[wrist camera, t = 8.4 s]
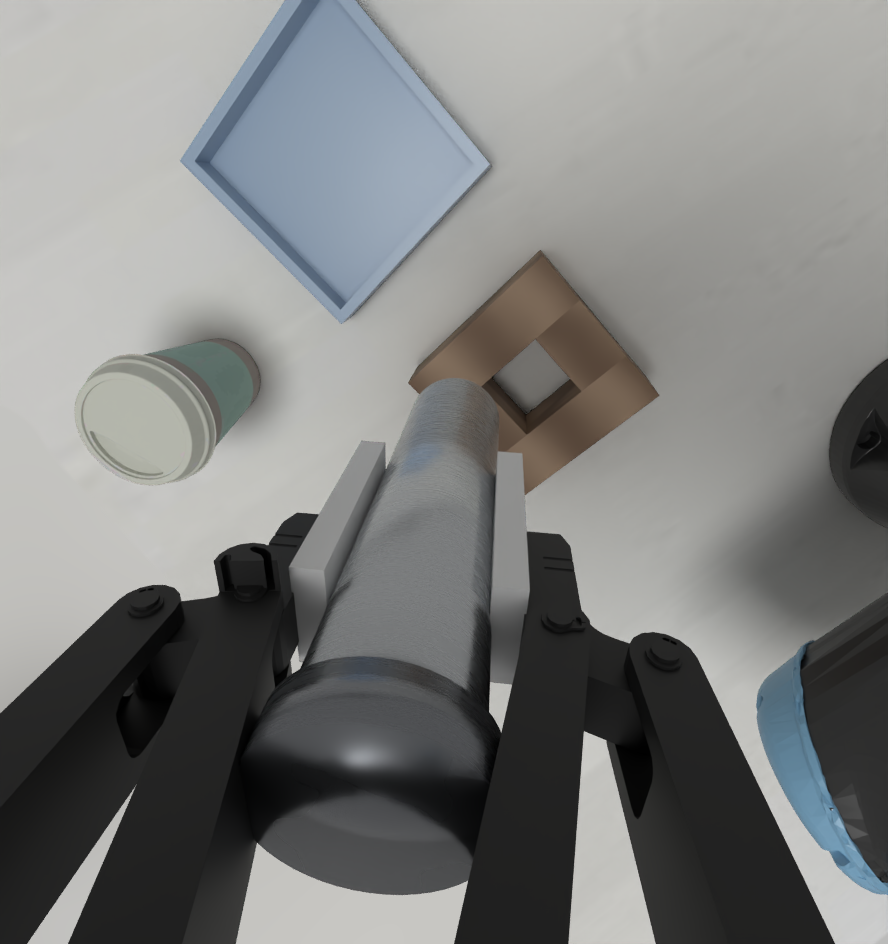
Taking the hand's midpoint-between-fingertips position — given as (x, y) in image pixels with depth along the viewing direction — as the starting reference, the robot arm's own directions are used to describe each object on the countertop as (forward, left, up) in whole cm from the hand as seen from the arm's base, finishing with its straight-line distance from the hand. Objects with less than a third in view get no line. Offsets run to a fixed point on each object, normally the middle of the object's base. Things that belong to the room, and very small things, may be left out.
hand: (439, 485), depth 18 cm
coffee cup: (+18, -11, -25) cm, 33 cm away
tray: (0, -14, -25) cm, 29 cm away
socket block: (0, +5, -25) cm, 26 cm away
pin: (0, 0, -6) cm, 6 cm away
